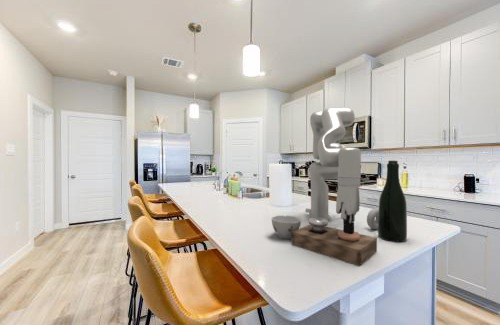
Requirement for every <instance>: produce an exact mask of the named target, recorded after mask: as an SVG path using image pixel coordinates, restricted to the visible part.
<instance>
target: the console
mask: <svg viewBox="0 0 500 325" xmlns="http://www.w3.org/2000/svg"><path fill="white" fill-rule="evenodd" d="M339 230H341V229H339V228H334V227H330V226H325V233H324V234H322V235H321V234H317V233H313V232H312V225H311V224H307V225H305V226H303V227H299V229H297V230H295V231H292V238H291V245H294V246H296V247H300V248H303V249H306V250H309V251H312V252H315V253H318V254H322V255H324V256H328V257H331V258H333V259H334V258H335V259H336V260H340V261H343V262H346V263H350V264H353V265H355V266H360V267H361V266H362V265H363V264H364V263H366V261H369V259H370V258H372V256H374V255H375V254H376V253H377V252H378V249H377V248H378V237H375V236H371V235H367V234H362V233H359V234H360V239H359V240H356V242H354V243H352V242H348V241H345V240H341V238H339V237H338V231H339Z"/></svg>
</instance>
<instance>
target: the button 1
mask: <svg viewBox="0 0 500 325" xmlns="http://www.w3.org/2000/svg"><path fill="white" fill-rule="evenodd" d="M328 222H329V220H327V219H324V218H316V217H315V218H308V225H310V224H311V225H312V232H313V233H317V234H321V235H322V234H324V233H325V226H326V227H328V225H329V223H328Z"/></svg>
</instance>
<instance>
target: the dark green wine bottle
mask: <svg viewBox="0 0 500 325" xmlns="http://www.w3.org/2000/svg"><path fill="white" fill-rule="evenodd" d="M398 162H399V161H398V160H388V162H387V164H386V179H385V184H384V186H383V187H382V188H383V189H382V191H381V192H380V196H379V201H378V209H379V213H378V229H377V234H378V237H379V238H381V239H383V240H385V241H390V242H396V243H397V242H399V243H400V242H401V243H402V242H405V241H407V237H408V233H407V232H408V217H407V216H408V215H407V214H408V213H407V210H408V209H407V206H408V205H407V199H406V196H405V193H404V191H403V188H402V186H401V182H400V176H399V175H400V172H399V171H400V170H399V169H400V164H399V163H398Z"/></svg>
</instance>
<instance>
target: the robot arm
mask: <svg viewBox="0 0 500 325" xmlns="http://www.w3.org/2000/svg"><path fill="white" fill-rule="evenodd" d="M309 121H310V124H309V125H310V128H311V131H312V134H313V135H312V136H313V137H312V156H313V159H315V160H318V161H316V162H315V161H314V162H312V163H311V164H310V165H309V167H308V168H309V176H310V177H309V178H310V208H307V207H306V208H305V213H308V215H307V218H308V219H310V218H315V217H316V218H324V219H327V220H328V221H330V220H331V219H332V215H329V186H328V184H327V182H325V180H337V187H338V188H337V192H336V204H335V208H336V209H335V212H336V214H337V215H340V219H342V222H343V226H342V228H343V229H342V230H343V232H344V233H348V234H353V233H354V231H355V220H356V217H355V216H356V215H357V213H358V212H360V202H361V200H360V188H361V186H362V185H361V184H362V183H361V182H362V181H361V179H362V177H361V174H362V173H361V170H362V168H361V167H362V165H361V164H362V151H361V149H360V148H357V147H343V145H342V144H341V143H339V142H338V141H341V139H343V138H344V137H345V136H346V133H347V132H346V128H347V127H352V126H353V124H354V123H355V113H354V110H353V109H352V108H350V107H329V108H325V109H324V110H321V111H314V112H312V113H311V115H310V118H309Z"/></svg>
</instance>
